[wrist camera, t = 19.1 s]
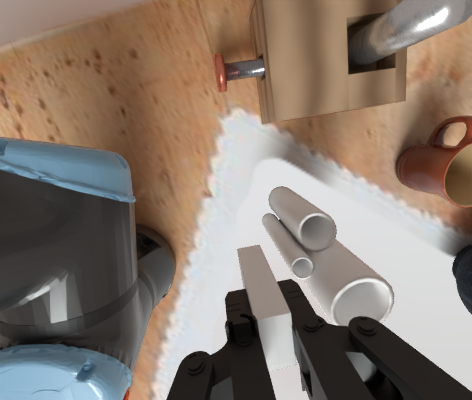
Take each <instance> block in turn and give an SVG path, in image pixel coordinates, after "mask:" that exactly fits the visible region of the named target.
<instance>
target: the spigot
mask: <svg viewBox="0 0 472 400" xmlns="http://www.w3.org/2000/svg"><path fill="white" fill-rule="evenodd" d="M471 15H472V0H403V1H402V2H400V3H399V4H397V5H396V6H394V7H393V8H391V9H390V10H389V11H387V12H386V13H384V14H383V15H381V16H380V17H378V18H377V19H376V20H374V21H373V22H371V23H370V24H368V25H367V26H365V27H364V28H363V29H361V30H360V31H358V32H357V33H355V34H354V35H352V36H351V37H350V38H348V39H347V50H348V69H350V70H357V69H359V68H362V67H364V66H366V65H368V64H371V63H373V62H375V61H377V60H380V59H382V58H384V57H386V56H389V55H391V54H393V53H396V52H398V51H400V50H402V49H405V48H407V47H409V46H411V45H414V44H416V43H418V42H420V41H423V40H425V39H427V38H430V37H432V36H434V35H436V34H439V33H441V32H443V31H445V30H448V29H450V28H452V27H454V26H457V25H459V24H461V23H463V22H465V21H466V20H467V19H468V18H470V16H471Z"/></svg>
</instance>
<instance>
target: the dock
mask: <svg viewBox="0 0 472 400" xmlns="http://www.w3.org/2000/svg"><path fill="white" fill-rule="evenodd" d="M402 1H403V0H256V2H255V5H254V8H253V11H252V14H251V16H250V28H251V36H252V44H253V53H254V59H261V58H264V67H265V75H264V76H257V86H258V94H259V102H260V111H261V119H262V124H267V123H273V122H279V121H285V120H292V119H298V118H304V117H311V116H317V115H323V114H330V113H336V112H342V111H348V110H355V109H361V108H367V107H373V106H379V105H385V104H390V103H396V102H402V101H406V63H407V48H405V49H402V50H400V51H398V52H396V53H393V54H391V55H389V56H386V57H384V58H382V59H380V60H377V61H375V62H373V63H371V64H368V65H366V66H364V67H362V68H359V69H357V70H350V69H348V50H347V39H348V38H350V37H351V36H352V35H354V34H355V33H357V32H358V31H360V30H361V29H363V28H364V27H365V26H367V25H368V24H370V23H371V22H373V21H374V20H376V19H377V18H378V17H380V16H381V15H383V14H384V13H386V12H387V11H389V10H390V9H391V8H393V7H394V6H396V5H397V4H399V3H400V2H402Z"/></svg>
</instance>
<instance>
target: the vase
mask: <svg viewBox="0 0 472 400" xmlns="http://www.w3.org/2000/svg"><path fill="white" fill-rule="evenodd" d="M269 205H270V207H271V209H272V210H273V211H274V212H275V213H276V215H277V216H278V217H279V218H280V220H278V219H277V217H276V216H275V215H273V214H266V215H264V216H263V218H262V223H263V226H264V227H265V229H266V231H267V232H268V234H269V235H270V237H271V239H272V241H273V242H274V244H275V246H276V247H277V249H278V251H279V252H280V254H281V256H282V257H283V259H284V261H285V262H286V264H287V265H288V267H289V269H290V271H291V272H292V274H293V275H294V276H295V277H296V278H298V279H303V280H304V282H305V283H306V285H307V286H308V288H309V289H310V291H311V293H312V294H313V296H314V297H315V299H316V300H317V302H318V303H319V305H320V306H321V308H322V309H323V311H324V312H325V314H326V316H327V317H328V319H329V320H330V322H331V323H332V325H339V326H348V324H349V321H350V320H351V319H352V318H354V317H358V316H367V317H370V318H373V319H375V320H377V321H379V322H380V323H382V322H383V321H384V320H385V319H386V318H387V316H388V315H389V314H390V312H391V310H392V307H393V304H394V293H393V290H392V287H391V286H390V285H389V283H388V282H387V281H386V280H385V279H383V278H382V277H381V276H380V275H379V274H377V273H376V272H375V271H374V270H373V269H371V268H370V267H369V266H368V265H366V264H365V263H364V262H363V261H362V260H360V259H359V258H358V257H357V256H356V255H354V254H353V253H352V252H351V251H349V250H348V249H347V248H346V247H345V246H343V245H342V244H341V243H340V242H338V241H337V240H336V239H335V238H336V233H337V232H336V225H335V223H334V220H333V219H332V218H331V217H330V216H329V215H328V214H326V213H325V212H323V211H322V210H320V209H319V208H317V207H316V206H314V205H313V204H311V203H310V202H308V201H307V200H305V199H304V198H302V197H301V196H299V195H298V194H296V193H295V192H293V191H292V190H290V189H289V188H287V187H283V186H281V187H277V188H275V189H273V190H272V191H271V193H270V195H269Z"/></svg>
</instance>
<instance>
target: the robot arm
mask: <svg viewBox="0 0 472 400" xmlns="http://www.w3.org/2000/svg"><path fill="white" fill-rule="evenodd" d="M134 202H136V198H135V196H134V195H133V189H132V180H131V171H130V167H129V164H128V162H127V161H126V160H125V159H124V158H123V157H122V156H121V155H120V154H118V153H115V152H113V151H108V150H102V149H95V148H88V147H81V146H73V145H65V144H57V143H49V142H41V141H32V140H24V139H15V138H6V137H0V400H123V398H124V395H125V393H126V390H127V389H128V388H129V386H130V385H131V380H132V373H133V369H134V366H135V363H136V360H137V357H138V354H139V351H140V347H141V344H142V341H143V338H144V335H145V332H146V329H147V325H148V322H149V319H150V316H151V313H152V310H153V309H154V308H155V306H156V305H157V304H158V303H159V302H160V301H161V300H162V299H163V298H164V297H165V296H166V295H167V293H168V292H169V290H170V288H171V286H172V283H173V279H174V275H175V270H176V262H175V257H174V253H173V251H172V249H171V247H170V245H169V244H168V243H167V241H166V240H165V239H164V238H163V237H162V236H161V235H160V234H158V233H157V232H156V231H154V230H152V229H150V228H148V227H146V226H143V225H139V224H135V207H134ZM237 251H238V257H239V263H240V269H241V275H242V280H243V286H244V289H242V290H236V291H232V292H228V294H227V296H226V298H225V304H226V314H227V321H226V324H225V329H226V335H227V343H226V344H225V346H224V347H223V348H222V349H220V350H219V351H217V352H216V353H214V354H212V355H209V354H208V353H207V352H203V351H197V352H193V353H191V354H189V355H188V356H186V357H185V358H184V359H183V360H182V362H181V364H180V365H179V368H178V370H177V373H176V376H175V378H174V381H173V384H172V386H171V389H170V392H169V394H168V397H167V399H166V400H276V398H275V394H274V390H273V386H272V382H271V378H270V375H269V371H273V370H278V369H282V368H287V367H291V366H296V365H297V362H296V358H297V361H298V363H299V366H300V374H301V383H302V390H303V391H305V389H306V391H307V394H308V397H309V399H310V400H472V392H471V391H470V390H468V389H467V388H466V387H465V386H463V385H462V384H461V383H459V382H458V381H457V380H455V379H454V378H452V377H451V376H450V375H449V374H447V373H446V372H445V371H443V370H442V369H441V368H439V367H438V366H437V365H435V364H434V363H433V362H432V361H430V360H429V359H428V358H426V357H425V356H424V355H422V354H421V353H420V352H418V351H417V350H416V349H414V348H413V347H412V346H410V345H409V344H408V343H406V342H405V341H404V340H402V339H401V338H400V337H399V336H397V335H396V334H395V333H393V332H392V331H391V330H389V329H388V328H387V327H385V326H384V325H383V324H381V323H380V322H379V321H377V320H375V319H373V318H370V317H367V316H358V317H354V318H352V319H351V320H350V321H349V324H348V326H339V325H332V324H328V323H327V322H326V321H325V320H324V319H323V318H321V317H320V316H318V315H316V313H315V311H314V310H313V308H312V306H311V305H310V304H309V301H308V300H307V298H306V296H305V295H304V293H303V292H302V290H301V288H300V286H299V285H298V283H296V282H295V281H293V280H292V279H289V280H283V281H278V282H276V279H275V277H274V275H273V273H272V271H271V269H270V266H269V264H268V262H267V260H266V258H265V255H264V253H263V251H262V249H261V247H260V245H255V246H250V247H245V248H240V249H237Z"/></svg>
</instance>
